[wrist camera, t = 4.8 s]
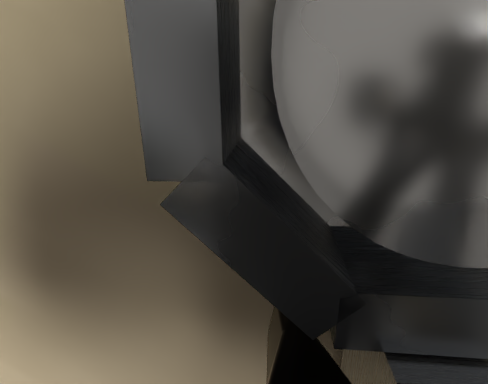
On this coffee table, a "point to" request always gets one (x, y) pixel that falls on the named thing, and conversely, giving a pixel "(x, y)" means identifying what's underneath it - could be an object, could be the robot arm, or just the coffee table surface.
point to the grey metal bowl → (375, 116)
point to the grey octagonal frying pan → (289, 215)
